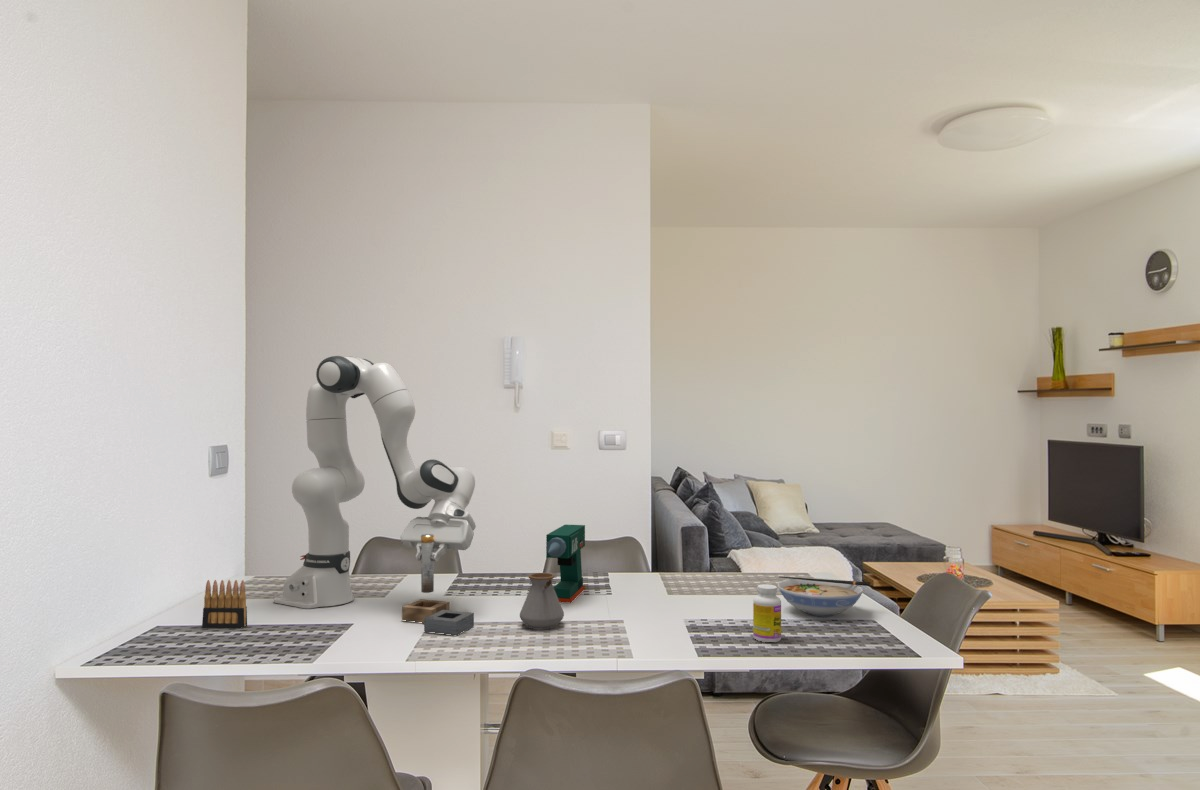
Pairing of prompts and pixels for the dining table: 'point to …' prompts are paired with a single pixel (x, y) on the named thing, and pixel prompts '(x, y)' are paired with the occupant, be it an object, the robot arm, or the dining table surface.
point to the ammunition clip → (224, 606)
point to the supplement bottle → (767, 614)
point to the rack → (423, 609)
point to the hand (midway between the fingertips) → (426, 559)
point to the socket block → (449, 622)
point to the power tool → (567, 559)
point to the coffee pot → (541, 603)
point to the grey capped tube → (427, 563)
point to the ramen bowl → (821, 594)
